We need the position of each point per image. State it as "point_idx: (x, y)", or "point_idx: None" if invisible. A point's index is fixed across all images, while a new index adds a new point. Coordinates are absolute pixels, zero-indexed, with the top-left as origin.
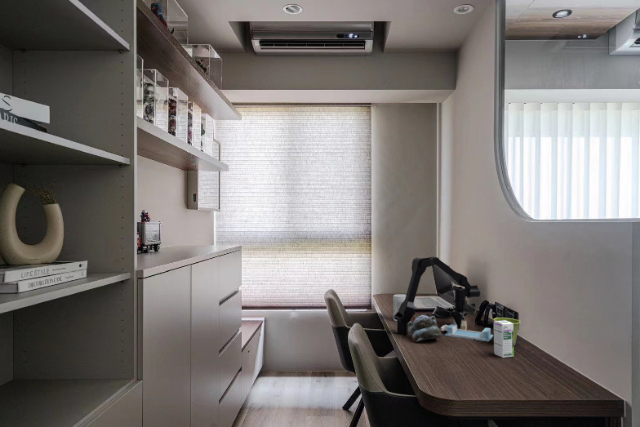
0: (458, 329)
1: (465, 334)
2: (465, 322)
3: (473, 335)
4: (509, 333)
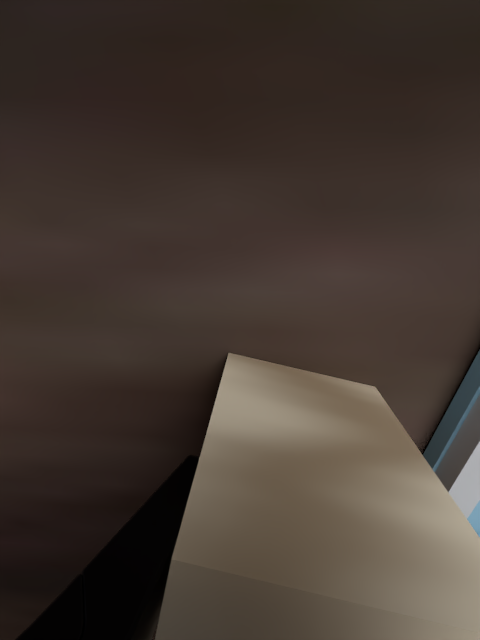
0: None
1: None
2: (478, 582)
3: None
4: None
